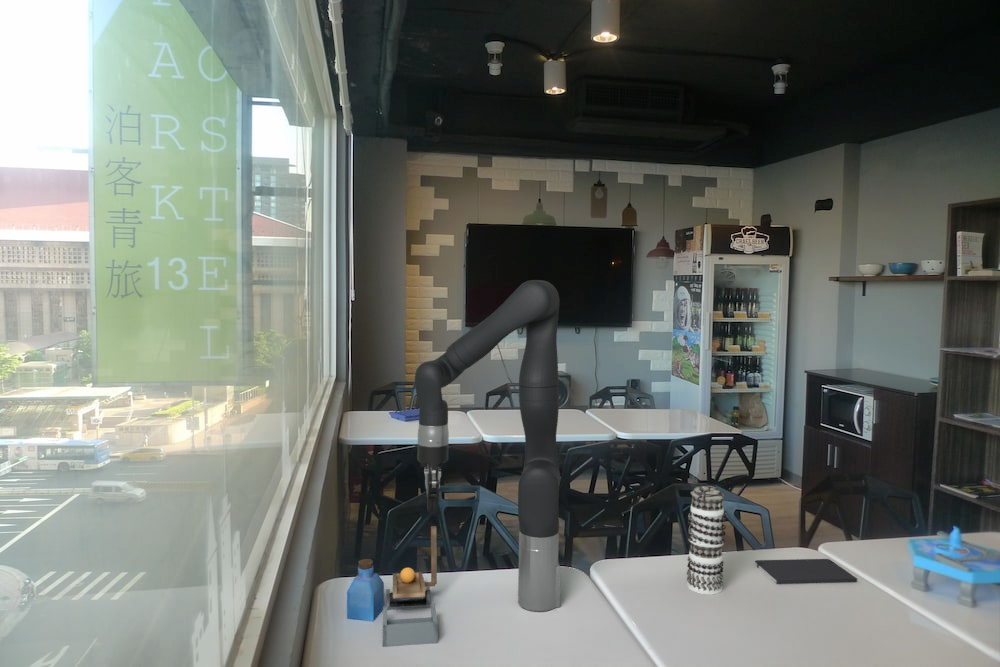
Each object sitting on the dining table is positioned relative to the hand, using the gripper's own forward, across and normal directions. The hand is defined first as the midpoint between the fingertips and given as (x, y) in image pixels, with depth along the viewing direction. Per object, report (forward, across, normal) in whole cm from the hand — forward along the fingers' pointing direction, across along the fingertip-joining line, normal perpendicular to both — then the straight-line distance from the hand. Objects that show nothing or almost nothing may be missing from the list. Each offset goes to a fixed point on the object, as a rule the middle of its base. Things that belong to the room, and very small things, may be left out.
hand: (431, 511), depth 168 cm
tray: (+18, -23, +6) cm, 30 cm away
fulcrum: (+18, -10, +6) cm, 22 cm away
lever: (+15, -10, +4) cm, 19 cm away
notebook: (+18, -5, -97) cm, 99 cm away
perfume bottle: (+19, -13, +15) cm, 28 cm away
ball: (+14, -3, +6) cm, 16 cm away
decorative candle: (+18, -10, -67) cm, 70 cm away
